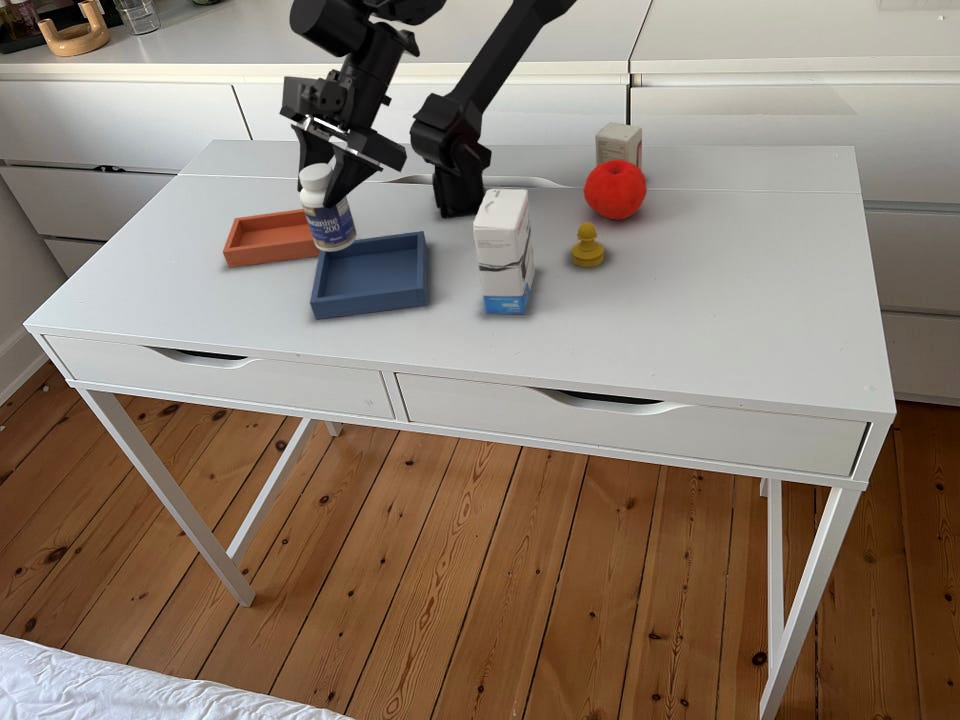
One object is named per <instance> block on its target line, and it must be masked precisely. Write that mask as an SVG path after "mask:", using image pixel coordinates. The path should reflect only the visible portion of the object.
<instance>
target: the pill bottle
mask: <svg viewBox="0 0 960 720" xmlns="http://www.w3.org/2000/svg"><path fill="white" fill-rule="evenodd" d="M333 170H334V168H333V166H331V164H330V163H328V164H325V163H319V164H313V165H310V166H308V167H306V168H304V169H303V170H301V172H300V173H299V172H298V173H299V178H300V182H301V185H302V187H303V189H302V190H301V192H299V200H300V203H301V206H302V209H304V212H305V215H306V218H307V221H308V225H309V227H310V231H311V234H312V237H313V240H314V243H315V245H316V247H317V248H319V249H320V250H323V251H328V252H332V251H339V250H342V249H344V248H346V247H348V246H350V245H351V244H352V243H353V242H354V241H355V240H357V236H358V235H357V229H356V225H355V222H354V218H353V214H352V211H351V208H350V205H349V201H348V197H347V195H346V196H345V197H344V198H343V199H342V200H341V201H339V202H338V203H337V204H336V205H335V206H334V207H332V208H331V209H328V208H326V207H324V206H323V200H324V197H325V193H326V190H327V187H328V184H329V181H330V178H331V175H332V173H333Z"/></svg>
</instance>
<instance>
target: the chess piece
mask: <svg viewBox="0 0 960 720" xmlns="http://www.w3.org/2000/svg"><path fill="white" fill-rule="evenodd" d="M596 228H597V227H596V226H595V224H593V223H592V222H589V221H588V222H583V223H581V224H580V225H579V227H578V229H577V234H576V239H578V240H580V241H579V242H577V243H575V244H574V245H573V246H572V247H571V260H572V263H573V264H574V265H576V266H578V267H580V268H594V267H597V266H599V265H601V264H602V263H603V262H604V260H605V252H604V251H605V248H604V245H603V244H602V243H601V242H599V241H596V239H597V237H598V233H597V229H596Z"/></svg>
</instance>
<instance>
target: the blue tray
mask: <svg viewBox="0 0 960 720" xmlns="http://www.w3.org/2000/svg"><path fill="white" fill-rule="evenodd" d="M310 296H311V297H310V301H309V304H310V307H311V310H312V313H313V317H314V319H315V320H323V319H331V318H338V317H346V316H347V317H348V316H353V315H360V314H369V313H376V312H377V313H378V312H384V311H391V310H392V311H393V310H399V309H400V310H401V309H406V308H407V309H408V308H414V307H423V306H428V245H427V240H426V236H425V231H424V230H420V231H419V230H418V231H412V232H404V233H398V234H397V233H396V234H390V235H389V234H388V235H383V236H382V235H381V236H374V237H367V238H360V239H355V241H354V242H353V243H352V244H351V245H350V246H348V247H346V248H344V249H342V250H339V251H332V252H328V251H323V250H320V253H319V256H318V259H317V264H316V269H315V275H314V280H313V286H312V290H311V295H310Z"/></svg>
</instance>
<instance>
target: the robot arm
mask: <svg viewBox="0 0 960 720" xmlns="http://www.w3.org/2000/svg"><path fill="white" fill-rule="evenodd" d="M447 1H448V0H293V2H292V4H291V7H290V11H289V16H288V17H289V18H288V19H289V21H288V22H289V27H290V29H291V31H292V32H293V33H294V34H295V35H297V36H299V37H301V38H302V39H304V40H306V41H308V42H309V43H311V44H313V45H314V46H316V47H318V48H319V49H321V50H323V51H325V52H326V53H328V54H329V55H331V56H333V57H335V58H343V57H345V58H344V60H343V63H342V65H341V68H340V70H337V69H334V68H332V69H331V70H329V71H328V73H327V75H326V77H325V78H322V77H318V78H313V77H301V76H300V77H299V76H290V75H289V76H288V75H285V76H283V85H282V87H283V88H282V98H281V108H280V111H279V113H278V114H279V115H280V116H283V117H284V118H287V119H288V120H291V121H293V122H294V123H296V124H293V123H290V128H291V129H292V130H293V131H294V133H295V135H296V138H297V140H298V142H299V162H298V174H297V175H298V176H297V187H296V191H297V192H298V193H300V192H301V190H302V189H303V187H302V185H301V182H300V178H299V173H300V172H301V170H303V169H304V168H306V167H308V166H310V165H313V164H319V163H325V164H330V162H331V161H332V159H333V158H335V164H334V167H333V173H332V175H331V178H330V181H329V184H328V187H327V190H326V193H325V197H324V200H323V206H324V207H326V208H328V209H331V208H332V207H334V206H335V205H336V204H337V203H338V202H339V201H341V200H342V199H343V198H344V197H345V196H346V197H347V196H348V195H349V194H350V193H351V192H352V191H354V190H355V189H356V188H357V187H359V185H361V184H362V183H364V182H365V181H367V180H368V179H369V178H370V177H372V176H373V175H375V174H376V173H377V172H380V173H382V172H383V171H384V168H385V167H384V168H383V167H382V166H380V165H384V166H386V167H388V168H390V169H392V170H394V171H396V172H399V173H400V174H401V173H402V170H403V169H404V166H405V164H406V161H407V160H408V155H407V150H406V147H405V146H403V145H402V144H400V143H398V142H396V141H394V140H392V139H390V138H389V137H386V136H385V135H383V134H380V133H379V131H378V130H376V129H374V128H372V127H373V125H374V122H375V120H376V118H377V116H378V114H379V111H380V108H381V106H382V105H383V106H385V107H388V108H389V107H390V105H391V103H392V100H393V98H392V97H390V96H388V95H387V92H388V90H389V87H390V85H391V83H392V81H393V78H394V76H395V74H396V71H397V69H398V67H399V64H400V62H401V59H402V57H403V55H404V54H405V55H408V56H410V57H411V56H412V57H414V58H419V57H421V51H420V48H419V45H418V43H417V40H416V33H415V32H414V31H412V30H409V29H404V28H402V29H400V30H398V29H397V28H395V27H394V26H392V25H391V24H389V23H388V22H386V21H389V22H396V23H401V24H404V25H407V26H412V27H416V26H417V27H418V26H420V25H422V24H424V23H425V22H428V20H430V19H431V18H433V16H435V15H436V14H438V13H439V12H440V11H442V10H443V8H444V7H445V5H446V3H447ZM577 2H578V0H512V3H511V5H510V6H509V7H508V10H507V11H506V12H505V13H504V15H503V16H502V18H501V19H500V21H499V22H498V24H497V25H496V26H495V28H494V30H493V31H492V32H491V34H490V35H489V37H488V38H487V40H486V41H485V42H484V43H483V46H482V47H481V49H480V50H479V51H478V53H477V54H476V56H475V57H474V58H473V60H472V61H471V63H470V64H469V66H468V68H467V69H466V70H465V72H464V73H463V75H462V76H461V78H460V79H459V80H458V81H457V84H456V85H455V86H454V88H453V89H452V90H451V91H450V92H448V93H446V94H444V95H443V96H442V95H440V94H438V93H435V92H431V93H429V94H428V96H427V97H426V98H425V100H424V102H423V104H422V106H421V107H420V108H419V110H418V111H417V112H416V113H414V114H413V115H412V119H414V121H413V122H412V124H411V127H410V129H409V132H408V134H409V137H410V138H409V142H410V146H411V149H412V150H413V152H414V153H415V154H417V155H418V156H420V157H422V159H423V161H424V162H425V163H426V164H430V165H432V166H434V172H433V173H432V174H431V183H432V190H433V195H434V200H435V205H436V208H437V209H440V211H439V213H440V217H441V218H442V219H447V218H455V217H462V216H469V215H477V213H478V211H479V208H480V205H481V204H482V202H483V198H484V196H485V194H486V187H485V186H484V185H485V184H484V179H483V174H484V171H485V170H486V169H487V168H489V167H490V166H491V161H492V154H493V151H492V150H491V149H490V148H488V147H487V146H485V145H483V144H481V143H480V142H479V140H480V138H481V136H482V126H483V116H484V114H485V111H486V110H487V109H488V107H489V106H490V104H491V103H492V101H493V100H494V99H495V97H496V95H497V94H498V93H499V91H500V90H501V88H502V86H503V85H504V84H505V82H506V81H507V80H508V78H509V77H510V75H511V73H512V72H513V71H514V69H515V68H516V66H517V65H518V63H519V62H520V60H521V59H522V58H523V56H524V55H525V54H526V52H527V50H528V49H529V47H530V46H531V45H532V43H533V42H534V41H535V39H536V38H537V36H538V34H539V33H540V32H541V30H542V29H543V28H544V27H545V26H546V25H548V24H550V23H551V22H553V21H555V20H557V19H558V18H560V17H562V16H564V15H565V14H566V13H567V12H568V11H569V10H570V9H571V8H572V7H573V6H574V5H575V4H576V3H577ZM371 17H374V18H377V19H381V20H385V21H376V22H372V21H371V20H370V18H371ZM332 137H335V138H337V139H339V140H341V141H343V142H345V143H346V147H345V148H342V147H341V146H339V145H337V144H335V143H333V142H331V141H330V140H331V138H332Z"/></svg>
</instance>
